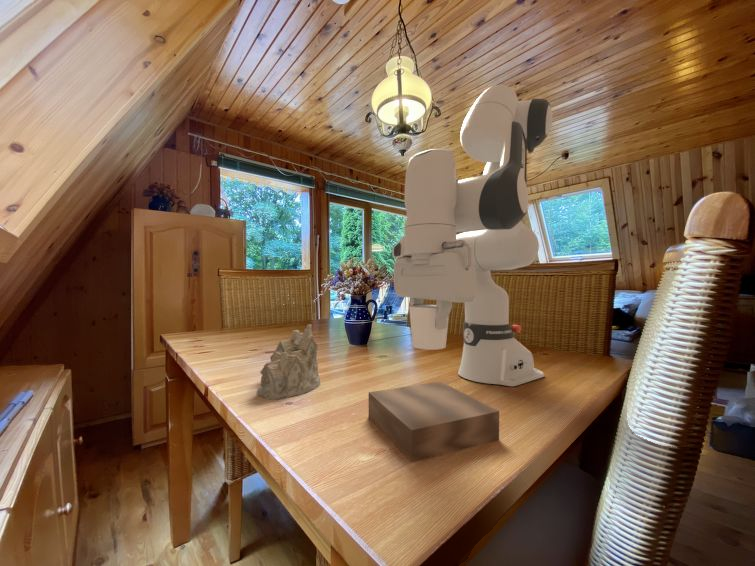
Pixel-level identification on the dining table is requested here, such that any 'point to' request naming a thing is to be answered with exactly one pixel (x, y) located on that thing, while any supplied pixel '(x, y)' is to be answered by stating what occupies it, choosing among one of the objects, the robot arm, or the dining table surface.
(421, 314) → the white cup
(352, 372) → the dining table surface
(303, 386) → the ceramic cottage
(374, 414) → the walnut block
